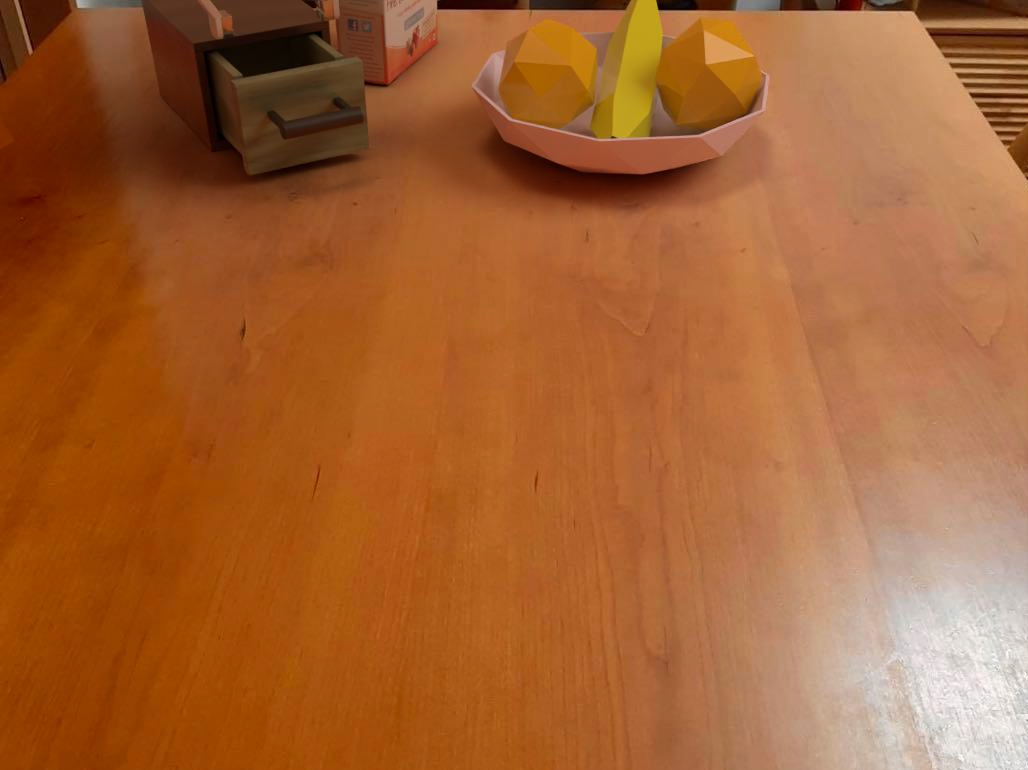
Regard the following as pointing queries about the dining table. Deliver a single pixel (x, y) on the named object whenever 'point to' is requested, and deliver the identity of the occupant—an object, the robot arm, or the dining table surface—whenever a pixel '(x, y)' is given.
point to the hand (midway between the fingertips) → (276, 27)
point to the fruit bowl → (624, 93)
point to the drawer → (288, 101)
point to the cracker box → (386, 34)
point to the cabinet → (186, 35)
